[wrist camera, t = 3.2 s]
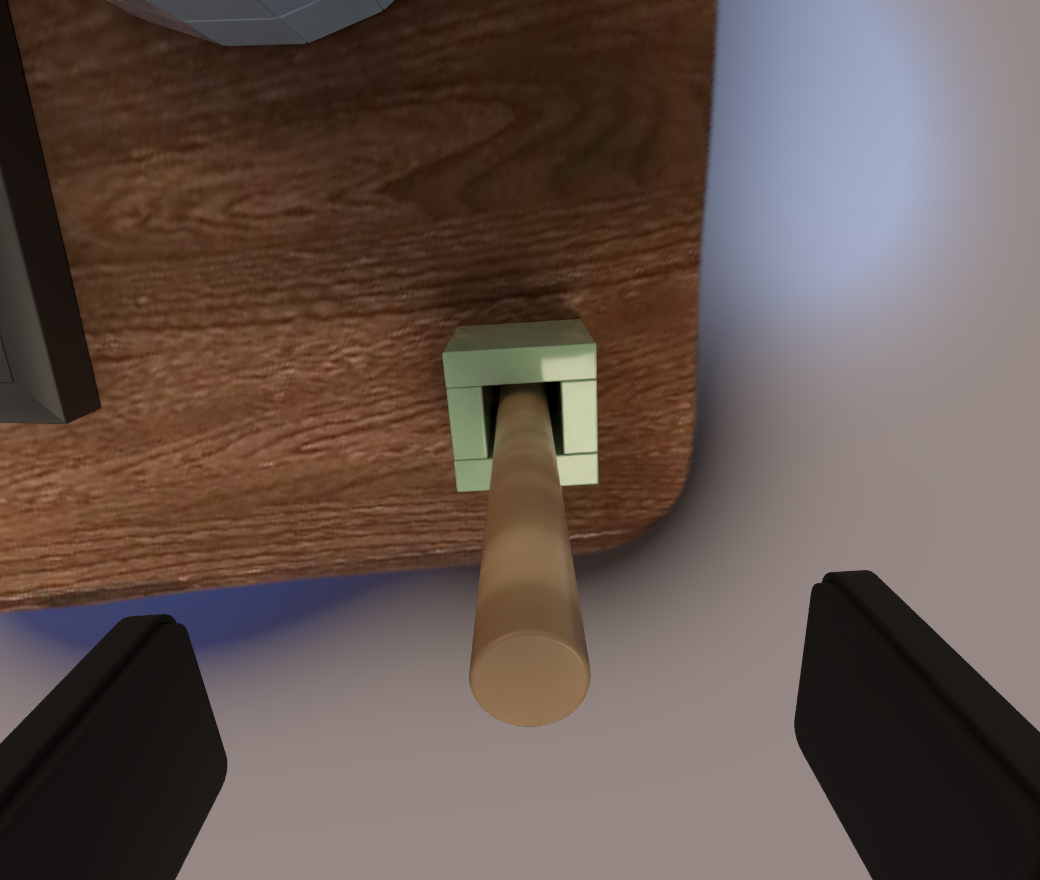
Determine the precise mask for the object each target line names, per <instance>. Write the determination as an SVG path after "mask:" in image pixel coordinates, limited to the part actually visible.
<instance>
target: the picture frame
mask: <svg viewBox="0 0 1040 880" xmlns="http://www.w3.org/2000/svg"><path fill="white" fill-rule="evenodd" d="M100 408H101V407H100V402H99V398H98V394H97V389H96V385H95V381H94V376H93V372H92V368H91V364H90V359H89V355H88V351H87V346H86V342H85V338H84V334H83V329H82V325H81V321H80V316H79V312H78V308H77V303H76V299H75V295H74V291H73V286H72V282H71V278H70V273H69V269H68V265H67V260H66V256H65V252H64V248H63V243H62V239H61V235H60V230H59V226H58V222H57V217H56V213H55V209H54V205H53V200H52V196H51V192H50V187H49V183H48V179H47V174H46V170H45V166H44V162H43V157H42V153H41V149H40V144H39V140H38V136H37V132H36V127H35V123H34V119H33V114H32V110H31V106H30V101H29V97H28V93H27V89H26V84H25V80H24V76H23V71H22V67H21V63H20V58H19V54H18V50H17V46H16V41H15V37H14V33H13V28H12V24H11V20H10V15H9V11H8V7H7V3H6V0H0V422H2V423H44V424H67V423H70V422H72V421H74V420H76V419H78V418H81V417H83V416H85V415H87V414H89V413H92V412H94V411H96V410H98V409H100Z"/></svg>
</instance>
